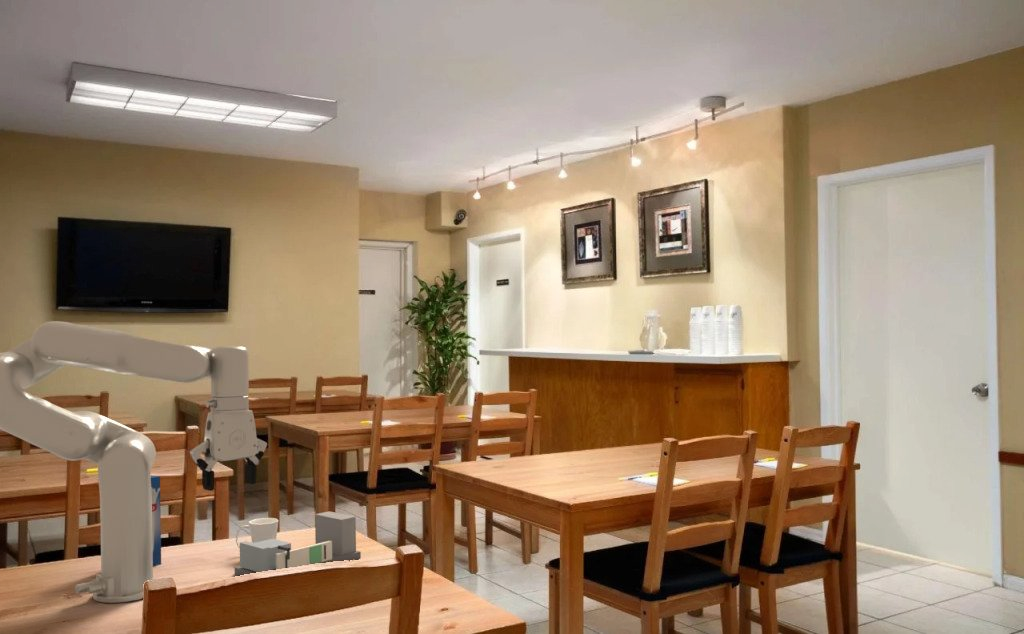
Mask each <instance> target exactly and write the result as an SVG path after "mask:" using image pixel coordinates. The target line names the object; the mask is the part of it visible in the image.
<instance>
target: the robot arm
mask: <svg viewBox="0 0 1024 634" xmlns="http://www.w3.org/2000/svg"><path fill="white" fill-rule="evenodd" d="M249 357H250V356H249V351H248V349H247V348H246V347H245V346H241V345H237V346H236V345H226V346H224V345H223V346H216V347H209V346H200V345H187V344H180V343H173V342H166V341H160V340H155V339H149V338H146V337H141V336H137V335H135V334H133V333H130V332H126V331H121V330H114V329H109V328H102V327H98V326H97V327H96V326H90V325H84V324H78V323H77V324H76V323H71V322H69V321H68V322H67V321H59V320H51V321H46V322H44V323H42V324H41V325H39V326H38V327H37V328H36V329H35V331H34V332H33V334H32V336H31V338H29V339H27V340H26V341H24V342H21V343H20V344H18V345H17V346H15V347H13V348H11V349H9V350H7V351H6V352H0V430H1V431H3V432H5V433H8V434H10V435H12V436H14V437H16V438H18V439H21V440H23V441H25V442H27V443H29V444H31V445H33V446H36V447H38V448H40V449H42V450H45V451H47V452H49V453H51V454H53V455H55V456H57V457H59V458H60V459H61V458H62V459H63V460H67V461H71V462H72V461H80V460H83V459H84V460H86V461H89V462H91V463H94V464H96V465H97V479H98V488H99V509H100V511H99V513H100V515H99V516H100V517H99V519H100V573H96V574H95V578H94V579H92V580H91V581H89V582H82V583H77V584H75V587H74V590H75V593H76V595H80V594H85V593H87V594H88V595H90V594H92V598H93V600H94V601H96V602H98V603H99V602H100V603H105V604H106V603H108V604H109V603H110V604H115V603H127V602H134V601H139V600H142V598H143V584H144V582H145V581H147V580H154V566H153V545H152V495H151V475H152V474H151V471H152V470H151V469H152V467H153V466H154V463H155V461H156V457H157V449H156V447H155V445H154V442H153V441H152V440H151V439H150V438H149V437H148V436H146V435H145V434H143V433H141V432H139V431H137V430H135V429H133V428H131V427H129V426H127V425H124V424H122V423H120V422H117V421H115V420H113V419H111V418H109V417H106V416H105V415H102V414H99V413H97V412H94V411H90V410H77V411H72V410H68V409H66V408H63V407H61V406H58V405H57V404H54V403H51V402H50V401H48V400H46V399H44V398H41V397H39V396H36V395H34V394H31V393H29V392H27V390H26V389H28V388H30V387H32V386H33V385H35V384H37V383H38V382H40V381H41V380H43V379H45V378H46V377H48V376H50V375H52V374H54V373H55V372H57V371H59V370H60V369H61V370H62V368H64V367H65V366H67V367H74V368H75V367H76V368H81V369H82V368H83V369H88V370H96V371H101V372H108V373H114V374H119V375H129V376H130V375H132V376H139V377H143V378H149V379H157V380H164V381H170V382H174V383H175V382H176V383H183V384H192V383H196V382H198V381H202V380H208V379H209V380H210V399H209V400H206V401H205V407H206V408H210V411H209V412H208V413H207V417H206V421H205V428H204V429H205V430H204V438H203V439H204V440H203V442H201V443H200V444H198V445H197V446H195V447H194V448H193V449H191V450H190V451H189V454H190V456H191V458H192V460H193V463H194V464H195V465H196V466H197V467H198V468H199V470H200V471H201V484H202V488H203V490H205V491H214V490H215V471H214V470H213V468H214V466H216V464H217V463H218V462H227V461H235V460H242V459H244V460H245V462H246V463H245V465H244V482H245V484H249V485H255V484H256V483H257V482H256V480H257V466H258V465H259V464H260V461H261V459H262V458H263V457H264V454H265V453H264V452H265V451H266V448H267V446H268V443H267V442H266V441H264V440H262V439H260V438H258V437H257V429H256V428H257V427H256V421H255V416H254V412H253V410H252V409H250V407H249V405H250V404H249V403H250V401H249V397H250V396H249V389H250V387H249V386H250V384H249V382H250V381H249V380H250V379H249V377H250V375H249V373H250V371H249V368H250V367H249V364H250V363H249V361H250V360H249V359H250V358H249ZM202 453H203V455H204V459H203V458H202V456H201V454H202ZM143 599H144V598H143Z"/></svg>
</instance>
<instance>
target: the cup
mask: <svg viewBox="0 0 1024 634" xmlns="http://www.w3.org/2000/svg"><path fill="white" fill-rule="evenodd" d="M242 529H249V532H250V538H251V542H252V543H256V542H260V541H264V540H269V539H276V540H277V535H278V529H279V520H278V519H277V518H275V517H263V518H255V519H252V520H249V521H248V524H246V525H242V526H240V527H239V529H238V530H236V531H237V532H236V535H235V542H236V543H235V544H236V546H237V547H238V548H239V549H240V541H239V533H240V531H241V530H242Z"/></svg>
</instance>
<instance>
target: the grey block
mask: <svg viewBox="0 0 1024 634" xmlns="http://www.w3.org/2000/svg"><path fill="white" fill-rule="evenodd" d="M239 544H240V548H239V566H240V567H243V568H246V569H249V570H253V571H256V572H262V571H268V570H274V569H276V554H277V553H282V552H286V551H287V559H288V560H289V559H290V550H292V543H291V542H288V541H285V540H281V539H277V538H276V539H269V540H264V541H260V542H256V543H252V541H251V542H250V541H247V540H246V541H239Z"/></svg>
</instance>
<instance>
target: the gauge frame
mask: <svg viewBox="0 0 1024 634" xmlns="http://www.w3.org/2000/svg"><path fill="white" fill-rule="evenodd" d="M314 522H315V523H314V528H315V531H314V532H315V534H314V535H315V544H311V545H307V546H302V547H299V548H294V549H291V550H290V559H289V560H288V559H287V551H286V552H282V553H277V554H276V569H282V568H289V567H297V566H302V565H309V564H315V563H326V562H333V561H344V560H352V561H354V560H353V559H356V560H359V559H361V557H362V556H361V553H362V552H361V551H359V550H357V531H356V530H357V529H356V528H357V527H356V523H357V522H356V516H354V515H350V514H349V515H348V514H345V513H344V514H343V513H338V512H333V511H330V510H329V511H323V512H319V513H315V514H314ZM276 569H274V570H276ZM250 573H256V571H253V570H249V569H246V568H243V567H240V565H238V566H235V567H234V575H236V576H239V575H244V574H250Z"/></svg>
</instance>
